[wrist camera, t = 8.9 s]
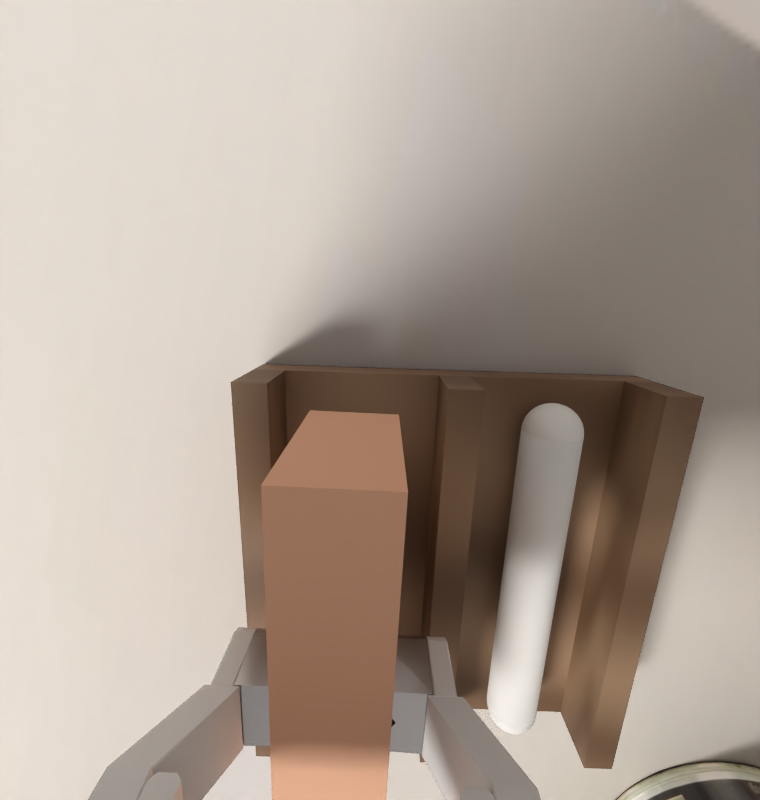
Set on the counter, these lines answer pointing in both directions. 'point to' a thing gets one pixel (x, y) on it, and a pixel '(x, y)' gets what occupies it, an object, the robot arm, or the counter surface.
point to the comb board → (499, 514)
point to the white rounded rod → (533, 561)
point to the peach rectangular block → (333, 604)
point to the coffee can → (699, 783)
